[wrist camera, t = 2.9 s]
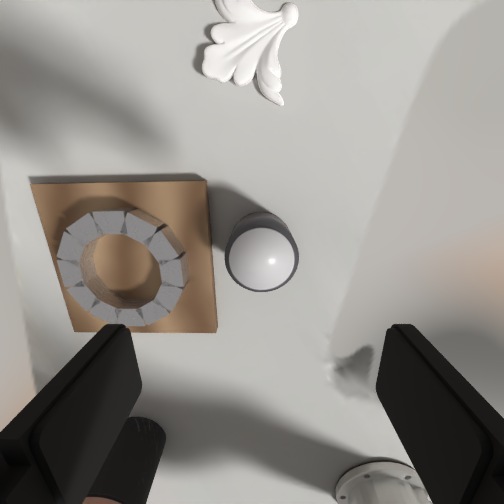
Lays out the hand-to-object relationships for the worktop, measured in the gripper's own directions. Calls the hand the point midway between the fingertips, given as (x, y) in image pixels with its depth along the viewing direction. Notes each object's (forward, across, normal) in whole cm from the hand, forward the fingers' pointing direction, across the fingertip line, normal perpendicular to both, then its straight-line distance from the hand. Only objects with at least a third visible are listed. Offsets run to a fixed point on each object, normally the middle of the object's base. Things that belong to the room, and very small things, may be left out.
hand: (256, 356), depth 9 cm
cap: (+16, 0, +1) cm, 16 cm away
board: (+16, +13, +3) cm, 21 cm away
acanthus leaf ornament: (+17, 0, -16) cm, 23 cm away
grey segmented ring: (+15, +13, +3) cm, 20 cm away
